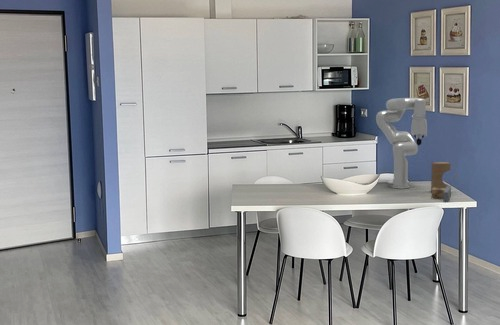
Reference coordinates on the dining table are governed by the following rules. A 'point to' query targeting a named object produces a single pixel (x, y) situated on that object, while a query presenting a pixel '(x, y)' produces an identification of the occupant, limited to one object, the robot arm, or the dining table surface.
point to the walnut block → (437, 193)
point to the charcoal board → (447, 193)
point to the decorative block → (439, 174)
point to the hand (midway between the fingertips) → (418, 144)
